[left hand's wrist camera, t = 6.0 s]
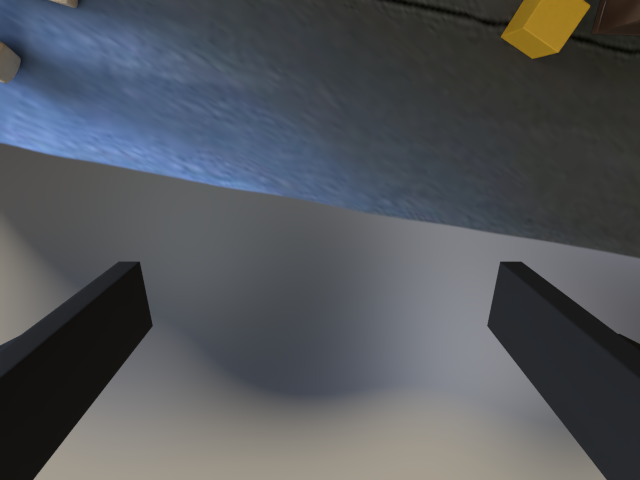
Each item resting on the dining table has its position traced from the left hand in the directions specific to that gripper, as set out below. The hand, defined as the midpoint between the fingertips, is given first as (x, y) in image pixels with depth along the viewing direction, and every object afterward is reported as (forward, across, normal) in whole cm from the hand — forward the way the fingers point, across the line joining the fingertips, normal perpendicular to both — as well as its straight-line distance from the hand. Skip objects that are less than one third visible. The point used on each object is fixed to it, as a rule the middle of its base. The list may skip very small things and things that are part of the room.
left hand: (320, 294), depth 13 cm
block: (+28, +21, +14) cm, 38 cm away
